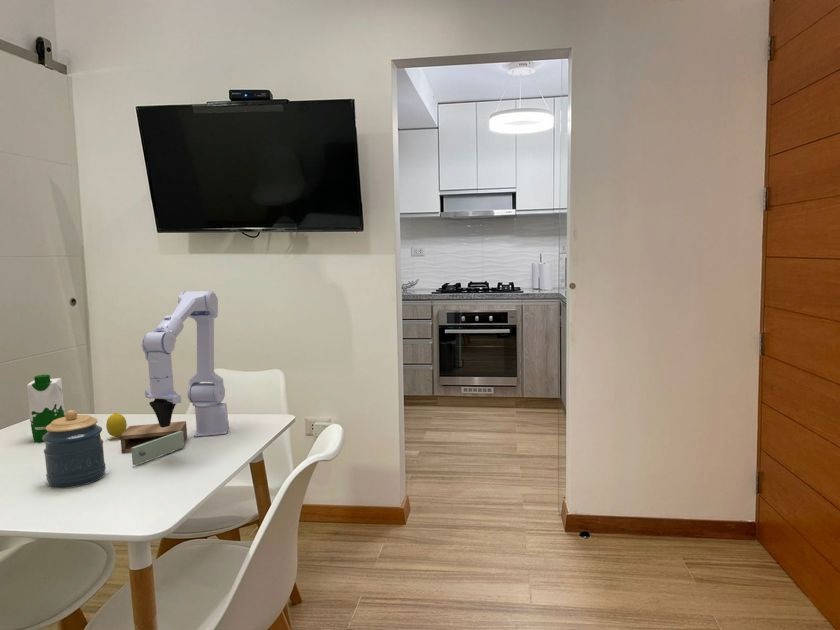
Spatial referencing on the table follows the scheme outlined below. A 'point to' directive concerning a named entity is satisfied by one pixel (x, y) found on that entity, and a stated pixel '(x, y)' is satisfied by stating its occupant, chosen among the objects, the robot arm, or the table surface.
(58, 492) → the table surface
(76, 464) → the canister
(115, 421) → the lemon
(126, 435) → the cabinet
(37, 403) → the milk carton
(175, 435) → the door
